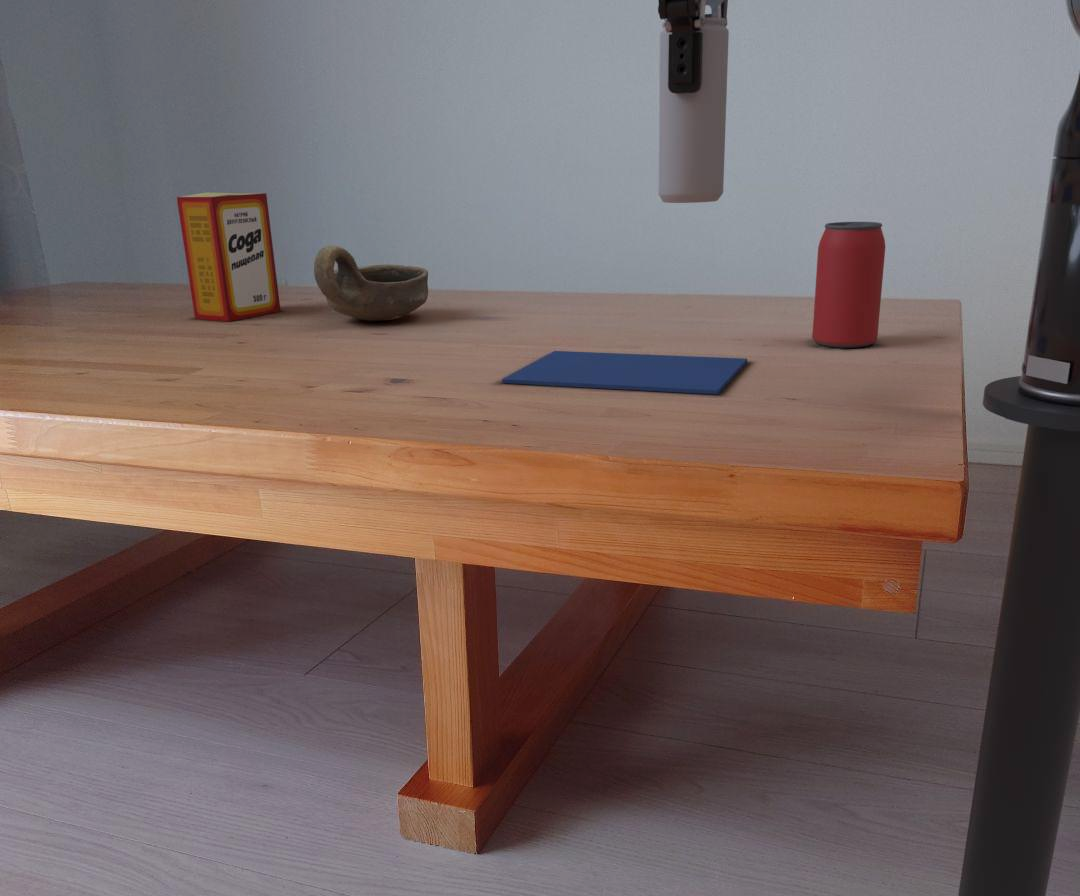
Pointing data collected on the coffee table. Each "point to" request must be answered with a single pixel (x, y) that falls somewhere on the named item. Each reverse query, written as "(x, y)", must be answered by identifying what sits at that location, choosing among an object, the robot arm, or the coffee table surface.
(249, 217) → the baking soda box
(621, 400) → the coffee table surface
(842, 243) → the beer can
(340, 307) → the bowl
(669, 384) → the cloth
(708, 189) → the beverage can
